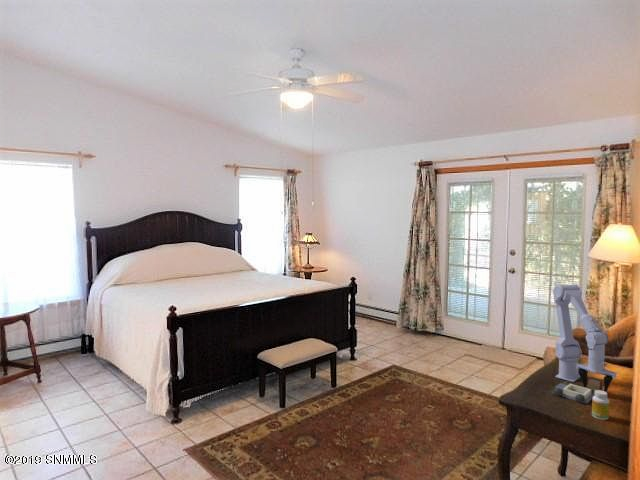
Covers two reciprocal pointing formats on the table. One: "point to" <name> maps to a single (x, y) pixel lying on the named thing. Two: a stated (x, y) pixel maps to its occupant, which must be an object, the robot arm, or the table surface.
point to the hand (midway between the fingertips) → (595, 389)
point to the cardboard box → (595, 384)
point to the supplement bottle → (600, 405)
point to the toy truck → (574, 392)
